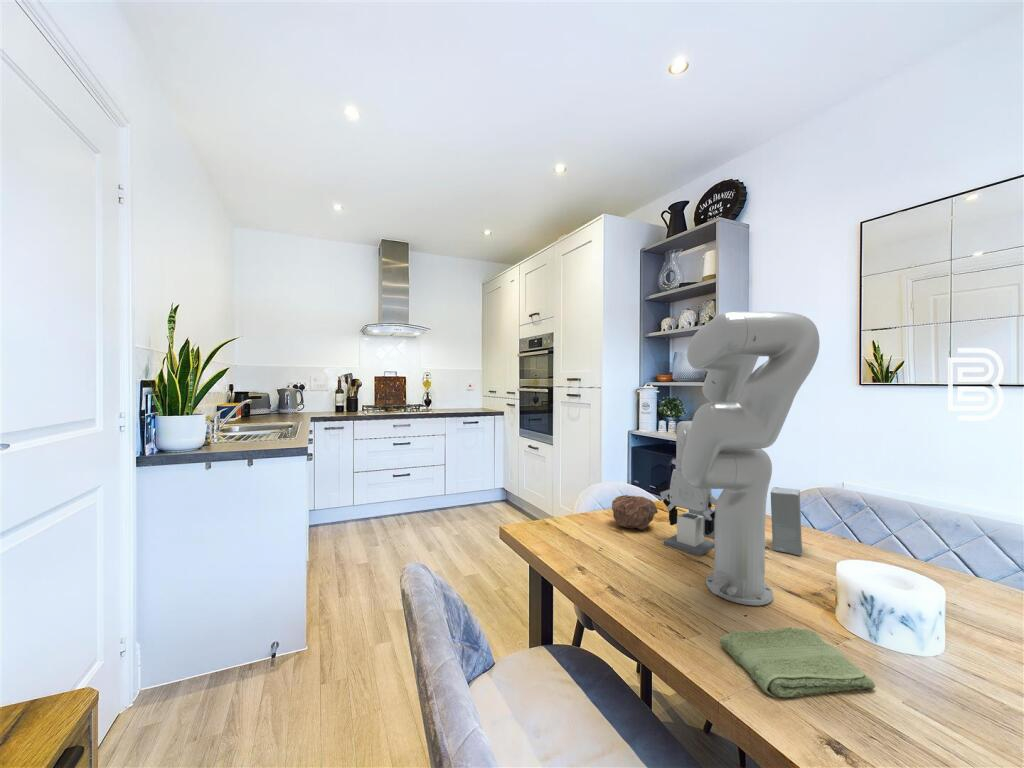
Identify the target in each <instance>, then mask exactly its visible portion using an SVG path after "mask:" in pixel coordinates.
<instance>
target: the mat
mask: <svg viewBox="0 0 1024 768" xmlns="http://www.w3.org/2000/svg"><path fill="white" fill-rule="evenodd" d="M714 542H715V541H713V540H709V539H706V538H703V542H702V543H701V544H699V545H697V546H696V547H694V546H691V545H687V544H684V543H681V542H678V541H677V533H676V534H674V535H672V536H670V537H668V538H666V539H664V540H663V545H664V546H667V545H668V547H671V548H673V547H674V548H673V549H676V548H677V550H679V549H680V550H679V551H682V550H683V552H685V551H686V552H685V553H689V554H692V555H695V556H699V557H701V556H703V555H704V554H706V553H708V552H710V551H711V550H713V549H714Z"/></svg>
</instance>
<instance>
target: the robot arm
mask: <svg viewBox="0 0 1024 768" xmlns="http://www.w3.org/2000/svg"><path fill="white" fill-rule="evenodd" d="M689 341H690V342H689V343H688V347H687V352H686V357H687V362H688V364H689V366H690V367H691V368H693V369H694V370H695V369H696V370H708V371H707V373H706V376H705V379H704V382H703V385H702V387H701V390H702V394H703V396H704V397H705V398H706V399H707V400H708V401H710V402H707V403H704V404H702V405H701V406H700V407H699V408H698V409H697V410H696V411H695V414H694V415H693V418H692V420H681V421H679V422H678V423H677V424H676V433H675V434H676V438H675V439H676V444H675V445H676V449H675V450H676V453H675V455H676V457H675V459H672V460H671V465H674V466H675V468H674V469H673V470H672V472H671V473H672V474H671V477H670V484H669V489H666V490H663V491H660V493H659V494H660V496H661V498H662V501H663V504H664V505H665V506H666V508H667V511H668V521H669V525H670V526H674V525H677V516H678V515H679V514H678V512H679V511H678V509H677V508H681V509H685V510H688V511H689V510H693V511H697V512H703V513H704V515H705V516H706V518H707V519H706V520H705V534H706V535H709V534H711V533H712V532H713V531H714V518H715V539H714V541H713V542H714V548H713V549H714V550H713V551H714V554H713V559H714V560H713V562H714V563H713V565H714V566H713V572H712V573H709V574H708V575H706V578H705V583H706V587H707V588H708V590H710V591H711V593H712V594H713V595H716V596H718V597H719V598H722V599H724V600H727V601H730V602H732V603H736V604H740V605H746V606H757V607H758V606H765V605H768V604H770V603H771V602H772V601H773V599H774V592H773V589H772V588H771V587H770V586H768V585H767V584H766V583H765V570H766V569H765V564H766V563H765V562H766V513H767V512H766V511H767V499H768V492H769V488H770V482H771V478H772V475H773V474H772V473H773V464H772V460H771V458H770V456H769V454H768V453H767V452H766V451H765V450H764V449H766V448H769V447H772V446H773V444H775V442H776V441H777V439H778V437H779V436H780V433H781V431H782V429H783V426H784V424H785V422H786V419H787V417H788V414H789V412H790V409H791V408H792V406H793V402H794V400H795V398H796V395H797V393H798V392H799V390H800V388H801V386H802V385H803V384H804V383H805V381H806V379H807V378H808V377H809V375H810V373H811V372H812V370H813V368H814V366H815V364H816V362H817V358H818V356H819V352H820V345H821V343H820V335H819V330H818V328H817V325H816V324H815V323H814V322H813V321H812V319H810V318H809V317H807V316H805V315H803V314H800V313H796V312H795V313H794V312H786V311H728V312H723V313H720V314H718V315H716V316H714V318H712V319H711V320H710V321H708V322H707V323H705V324H704V325H703V326H702V327H700V328H699V329H698V330H697V331H696V332H695V333H694V334H693V336H692V337H691V339H690V340H689ZM760 357H768V359H767V360H766V361H765V362H763V363H762V364H761V365H759V366H758V367H757V368H756V369H754V368H755V367H756V364H757V361H758V360H759V358H760ZM712 489H713V490H722V491H721V492H720V494H719V495H718V498H715V497H714V496H713V494H712ZM668 495H669V496H668ZM712 505H714V506H715V507H714V509H715V511H714V512H713V511H712V509H711V508H713V507H712Z"/></svg>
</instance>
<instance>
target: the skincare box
mask: <svg viewBox="0 0 1024 768" xmlns="http://www.w3.org/2000/svg"><path fill="white" fill-rule="evenodd" d="M770 512H771V513H770V515H771V533H772V535H771V536H772V539H771V540H772V541H771V542H772V550H773V551H776V552H783V553H787V554H791V555H796V556H799V557H801V556H802V554H803V553H802V552H803V542H802V541H803V540H802V539H803V538H802V522H801V521H802V520H801V519H802V518H801V514H802V513H801V490H800V489H798V488H796V489H795V488H785V487H776V486H773V487H772V488H771V490H770Z"/></svg>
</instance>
